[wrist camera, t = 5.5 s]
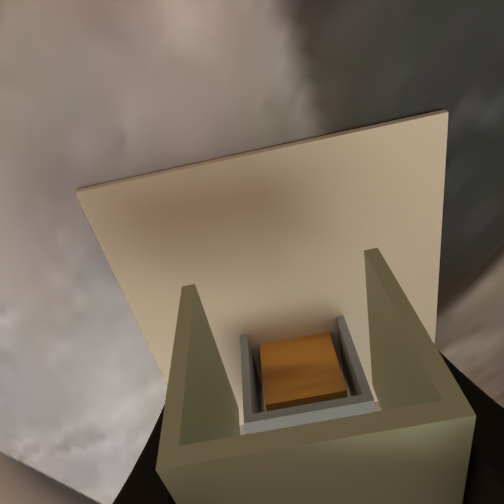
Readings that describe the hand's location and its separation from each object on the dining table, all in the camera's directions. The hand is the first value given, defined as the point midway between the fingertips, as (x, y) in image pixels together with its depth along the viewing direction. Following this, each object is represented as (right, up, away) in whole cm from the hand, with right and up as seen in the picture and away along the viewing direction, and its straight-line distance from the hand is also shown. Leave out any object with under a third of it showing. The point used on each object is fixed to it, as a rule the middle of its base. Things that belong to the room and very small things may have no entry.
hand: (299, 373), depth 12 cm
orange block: (+1, -3, +12) cm, 12 cm away
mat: (0, +1, +10) cm, 10 cm away
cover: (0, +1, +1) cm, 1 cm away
